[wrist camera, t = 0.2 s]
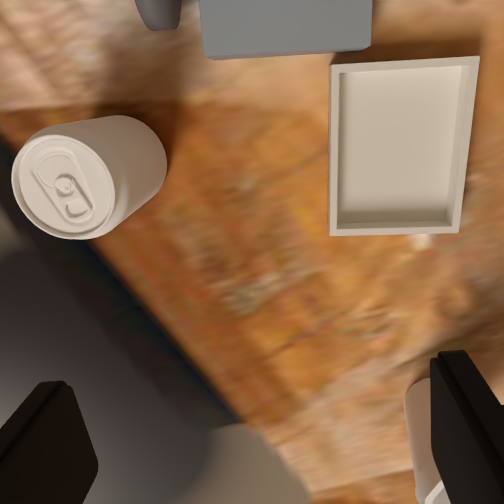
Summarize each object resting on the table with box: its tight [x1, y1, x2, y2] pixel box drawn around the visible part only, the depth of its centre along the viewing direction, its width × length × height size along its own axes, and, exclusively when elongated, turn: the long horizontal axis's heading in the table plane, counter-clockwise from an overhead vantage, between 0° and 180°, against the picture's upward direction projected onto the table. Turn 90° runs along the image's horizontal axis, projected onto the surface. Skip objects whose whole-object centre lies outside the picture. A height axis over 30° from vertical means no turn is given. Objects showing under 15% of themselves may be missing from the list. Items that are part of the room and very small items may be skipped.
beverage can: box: [12, 115, 167, 239], centre depth 35 cm, size 8×8×12 cm
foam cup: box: [404, 378, 451, 504], centre depth 41 cm, size 10×9×13 cm
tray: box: [327, 56, 480, 236], centre depth 37 cm, size 14×11×2 cm
